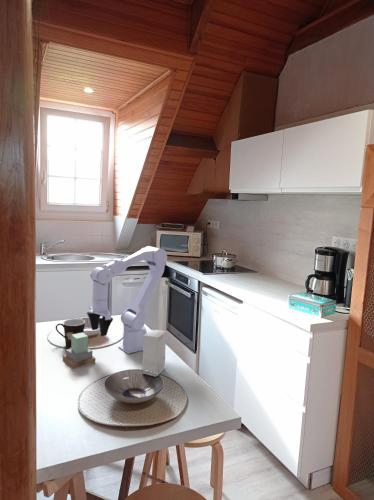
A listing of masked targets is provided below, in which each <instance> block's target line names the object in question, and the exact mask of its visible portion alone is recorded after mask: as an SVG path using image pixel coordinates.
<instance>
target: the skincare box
mask: <svg viewBox="0 0 374 500" xmlns="http://www.w3.org/2000/svg"><path fill="white" fill-rule="evenodd" d="M166 338H167V331H166V330H161V329H160V330H159V329H154V328H152V329H151V330H149V331H147V334H145V335H144V340H143V350H142V370H148V371H152V372H155V373H158V374H159V375H160V374H161V373H162V372H163V371H164V370H166V369H165V367H166V364H165V363H166V347H167V346H166V344H167V343H166V342H167V341H166V340H167V339H166ZM142 370H141V371H142Z"/></svg>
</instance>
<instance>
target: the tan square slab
mask: <svg viewBox="0 0 374 500" xmlns="http://www.w3.org/2000/svg"><path fill="white" fill-rule="evenodd" d="M62 360H63V361H64V362H65V363H66V364H67V365H68V366H69V367H70V368H71V369H72V370H73V369H77V368H81V367H85V366H88V365H93V364H95V363H96V360H97V359H96V357H94V355H92V357H91V358H88V359H85V360H82V361H79V362H74V361H73V360H71V359H70V358H68V357H66V353H65V354H62Z"/></svg>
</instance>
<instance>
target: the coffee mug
mask: <svg viewBox="0 0 374 500" xmlns="http://www.w3.org/2000/svg"><path fill="white" fill-rule="evenodd" d="M85 325H86V320H83V319H81V318H72V319H71V318H70V319H66V320H64V321H63V323H57V324H55V330H56V332H57V333H58V334H59V335H60V336H61V337H63V338H64V339H65V340H64V341H65V342H64V343H65V348H67V347H71V336H72V335H73V334H77V333H82V332H83V333H84V331H85ZM58 326H62V327H63V331H64V332H63V333H64V334H63V333H61V332H60V331H59V330H58ZM84 334H85V333H84Z"/></svg>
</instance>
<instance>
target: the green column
mask: <svg viewBox="0 0 374 500" xmlns="http://www.w3.org/2000/svg"><path fill="white" fill-rule="evenodd" d="M70 349H71V350H72V351H73V352H74V353H76V354H79V353H83V352H87V351H88V349H89V335H87V334H86V333H83V332H82V333H77V334H73V335H72V336H71V348H70Z"/></svg>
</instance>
